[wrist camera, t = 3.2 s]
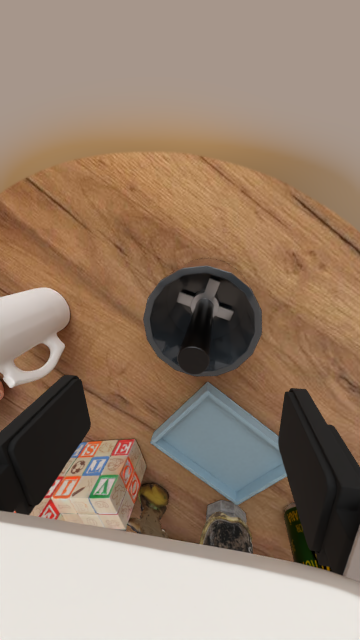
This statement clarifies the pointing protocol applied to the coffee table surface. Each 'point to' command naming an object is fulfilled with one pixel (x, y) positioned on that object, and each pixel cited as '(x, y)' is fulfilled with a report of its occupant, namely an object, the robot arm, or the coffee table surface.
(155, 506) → the toy
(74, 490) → the stack of blocks
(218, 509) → the lantern
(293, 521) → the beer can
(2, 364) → the mug
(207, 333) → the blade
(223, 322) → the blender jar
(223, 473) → the tray
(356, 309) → the coffee table surface
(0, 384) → the toy ball
